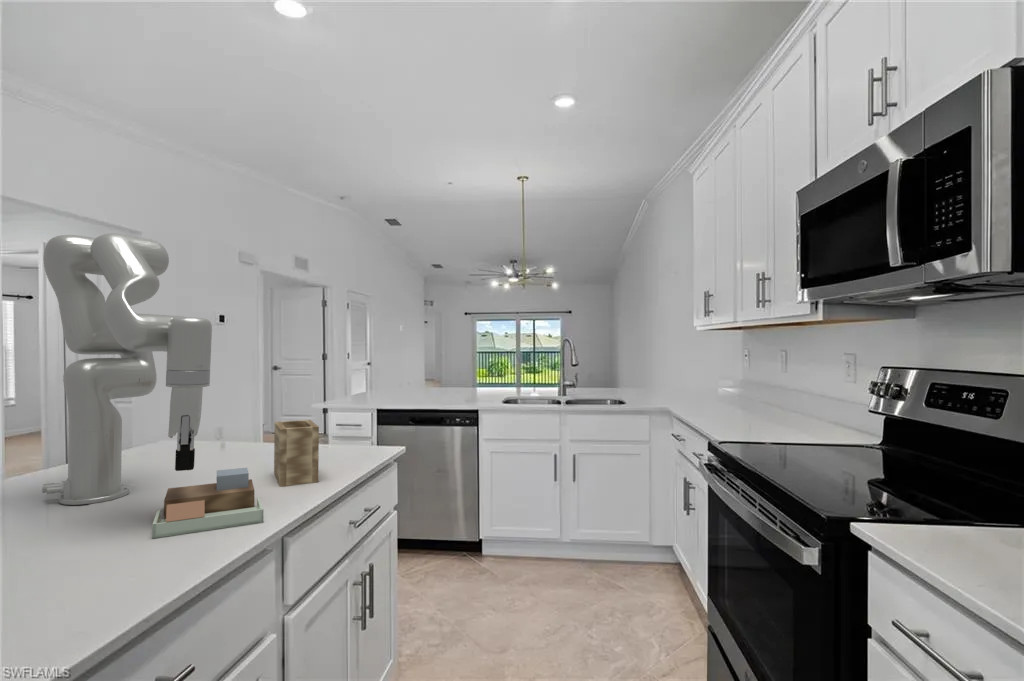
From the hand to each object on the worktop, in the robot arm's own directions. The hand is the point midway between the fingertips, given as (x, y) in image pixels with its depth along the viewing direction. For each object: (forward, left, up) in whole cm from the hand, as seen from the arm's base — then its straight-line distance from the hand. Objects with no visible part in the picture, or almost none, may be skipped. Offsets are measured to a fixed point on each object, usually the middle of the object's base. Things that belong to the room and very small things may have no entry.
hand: (184, 469), depth 105 cm
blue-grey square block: (+9, +5, -6) cm, 12 cm away
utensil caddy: (+24, +22, -10) cm, 34 cm away
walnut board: (+5, +4, -10) cm, 11 cm away
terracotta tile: (+1, -7, -5) cm, 9 cm away
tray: (+5, -6, -10) cm, 12 cm away
